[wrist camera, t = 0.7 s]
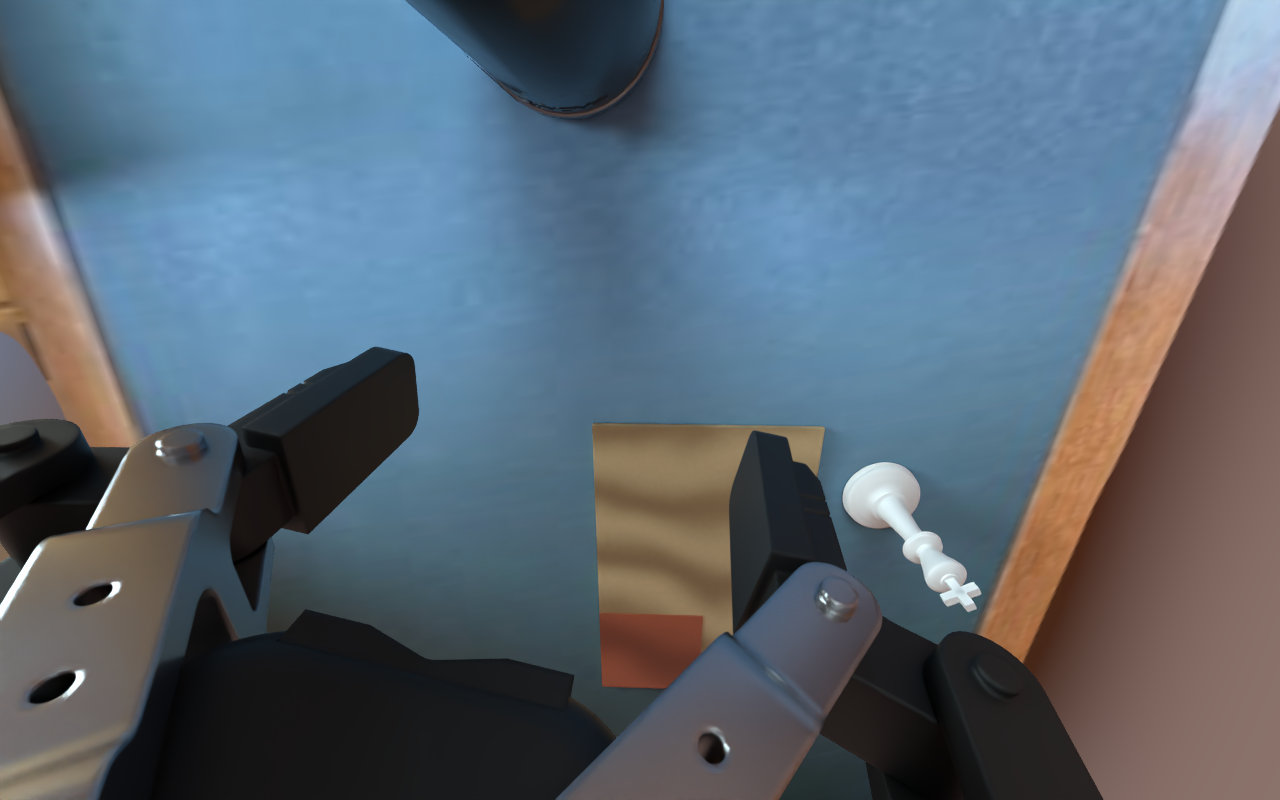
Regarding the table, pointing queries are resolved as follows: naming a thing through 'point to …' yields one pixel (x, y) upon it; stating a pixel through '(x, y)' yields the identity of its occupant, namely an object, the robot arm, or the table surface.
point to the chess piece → (906, 526)
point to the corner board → (669, 540)
